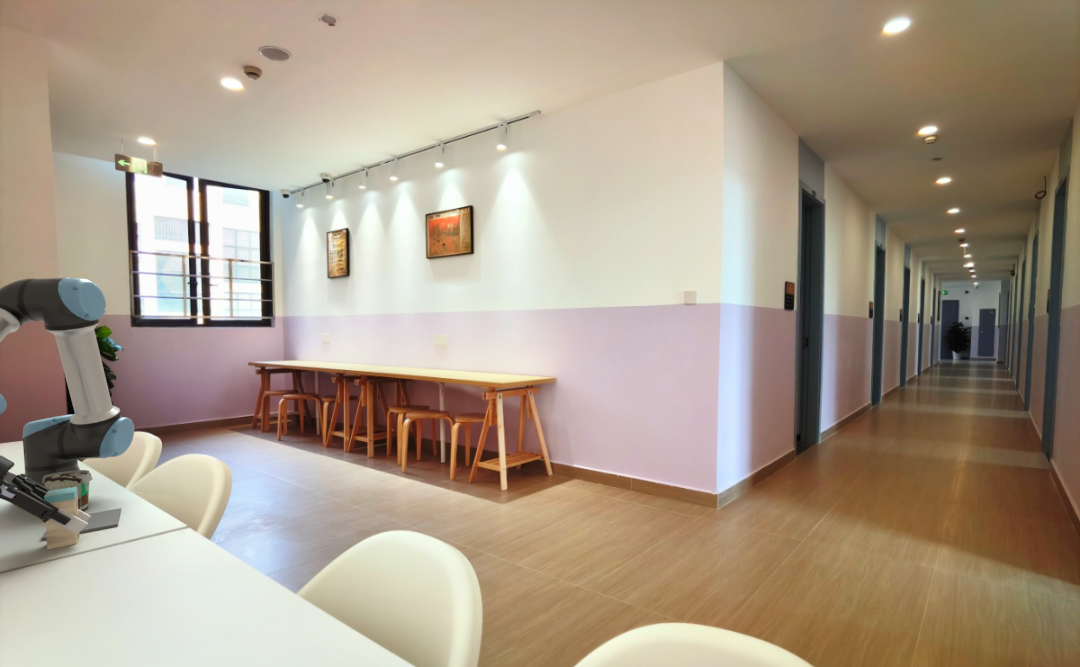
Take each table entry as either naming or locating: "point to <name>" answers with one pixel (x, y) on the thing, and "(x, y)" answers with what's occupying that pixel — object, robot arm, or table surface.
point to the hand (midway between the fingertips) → (84, 524)
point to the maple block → (54, 531)
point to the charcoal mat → (99, 521)
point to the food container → (71, 484)
